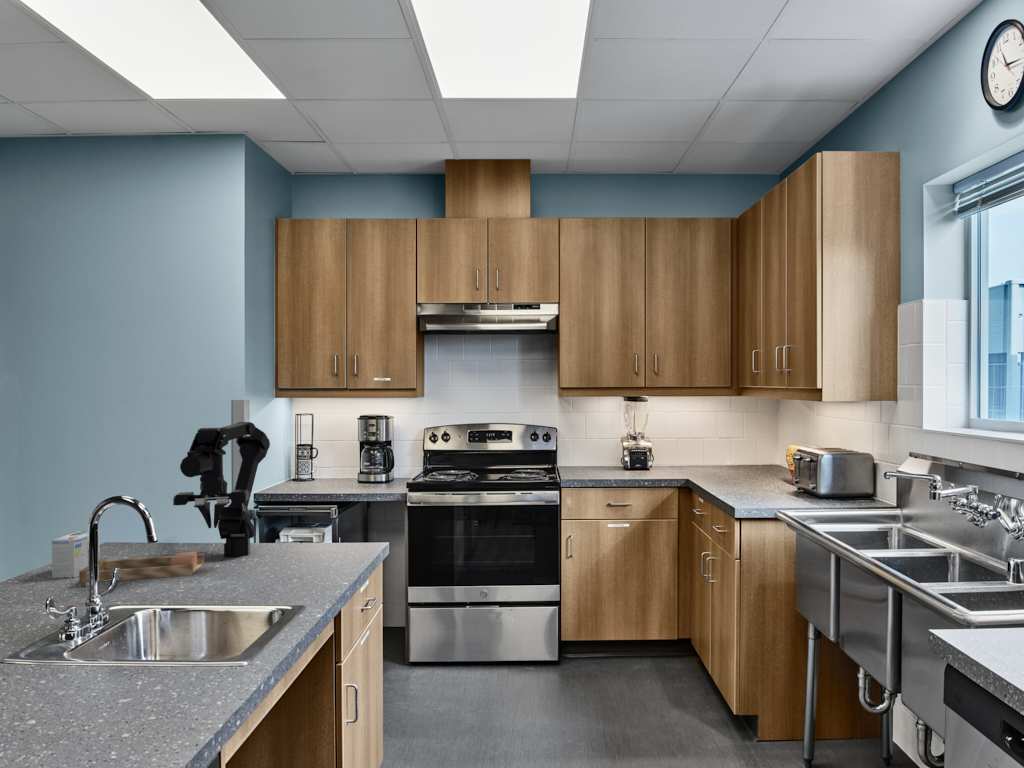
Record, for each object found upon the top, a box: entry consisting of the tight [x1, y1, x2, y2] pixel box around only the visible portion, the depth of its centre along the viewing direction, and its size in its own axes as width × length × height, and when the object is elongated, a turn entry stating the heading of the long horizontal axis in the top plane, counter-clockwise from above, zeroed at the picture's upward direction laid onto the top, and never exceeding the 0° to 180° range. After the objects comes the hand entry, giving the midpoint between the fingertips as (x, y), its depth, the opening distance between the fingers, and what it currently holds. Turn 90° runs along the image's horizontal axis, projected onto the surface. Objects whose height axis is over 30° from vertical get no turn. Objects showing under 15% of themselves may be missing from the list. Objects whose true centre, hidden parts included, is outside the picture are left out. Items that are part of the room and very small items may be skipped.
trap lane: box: [78, 553, 205, 588], centre depth 176 cm, size 27×13×4 cm, turn 102°
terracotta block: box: [171, 551, 198, 569], centre depth 178 cm, size 5×6×4 cm
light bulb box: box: [51, 530, 101, 579], centre depth 181 cm, size 11×7×11 cm, turn 178°
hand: (212, 527), depth 180 cm, fingers closed
